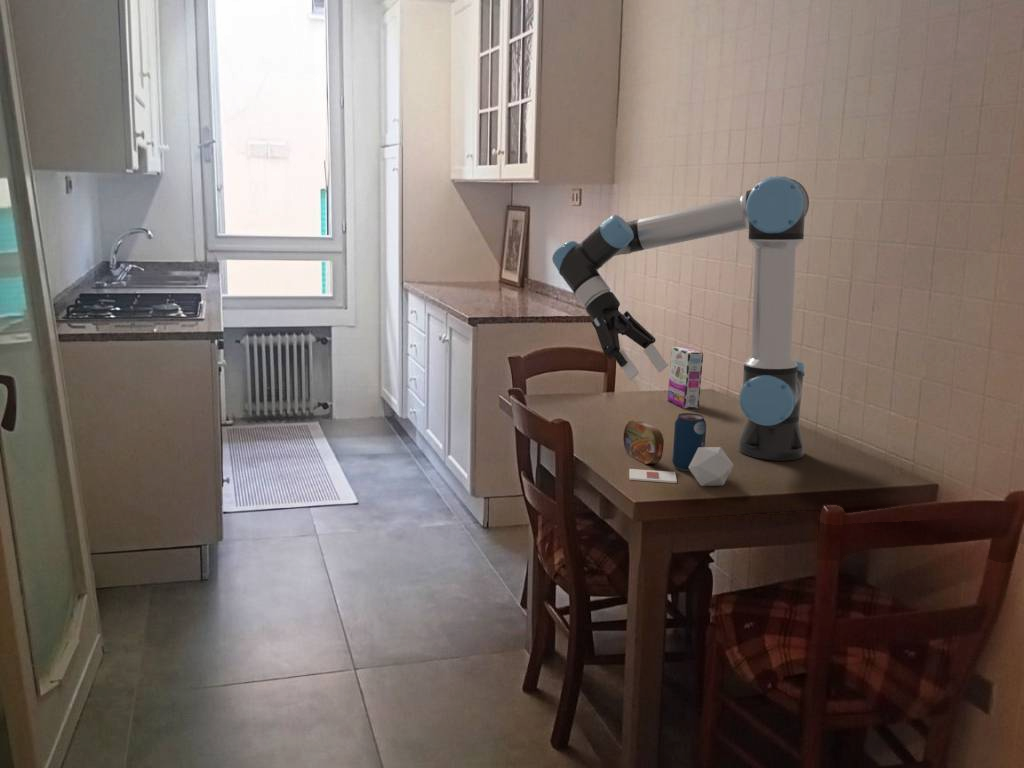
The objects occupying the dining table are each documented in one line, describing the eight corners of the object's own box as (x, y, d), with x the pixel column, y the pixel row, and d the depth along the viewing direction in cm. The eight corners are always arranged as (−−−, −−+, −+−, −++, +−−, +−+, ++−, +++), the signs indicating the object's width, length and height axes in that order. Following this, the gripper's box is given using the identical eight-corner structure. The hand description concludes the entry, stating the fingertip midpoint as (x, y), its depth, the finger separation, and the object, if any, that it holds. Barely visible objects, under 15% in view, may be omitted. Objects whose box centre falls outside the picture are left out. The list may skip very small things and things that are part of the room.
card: (675, 473, 211) (675, 471, 211) (676, 483, 204) (676, 480, 204) (629, 470, 212) (629, 468, 212) (629, 479, 205) (629, 477, 205)
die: (725, 495, 200) (745, 455, 202) (691, 474, 199) (711, 434, 201) (710, 497, 208) (729, 458, 210) (676, 476, 207) (696, 438, 209)
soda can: (707, 471, 214) (712, 419, 211) (678, 472, 212) (682, 419, 210) (695, 462, 220) (699, 412, 218) (666, 463, 219) (670, 412, 216)
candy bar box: (699, 408, 276) (704, 352, 272) (684, 409, 274) (688, 352, 271) (681, 400, 286) (686, 346, 283) (666, 400, 285) (670, 346, 281)
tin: (621, 451, 228) (623, 416, 226) (633, 450, 229) (635, 416, 228) (652, 469, 214) (654, 432, 213) (664, 468, 215) (667, 431, 214)
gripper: (615, 306, 237) (664, 375, 232) (558, 314, 218) (610, 389, 212) (635, 287, 233) (685, 356, 228) (579, 293, 214) (633, 370, 208)
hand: (649, 372), depth 220 cm, fingers open, 13 cm apart
